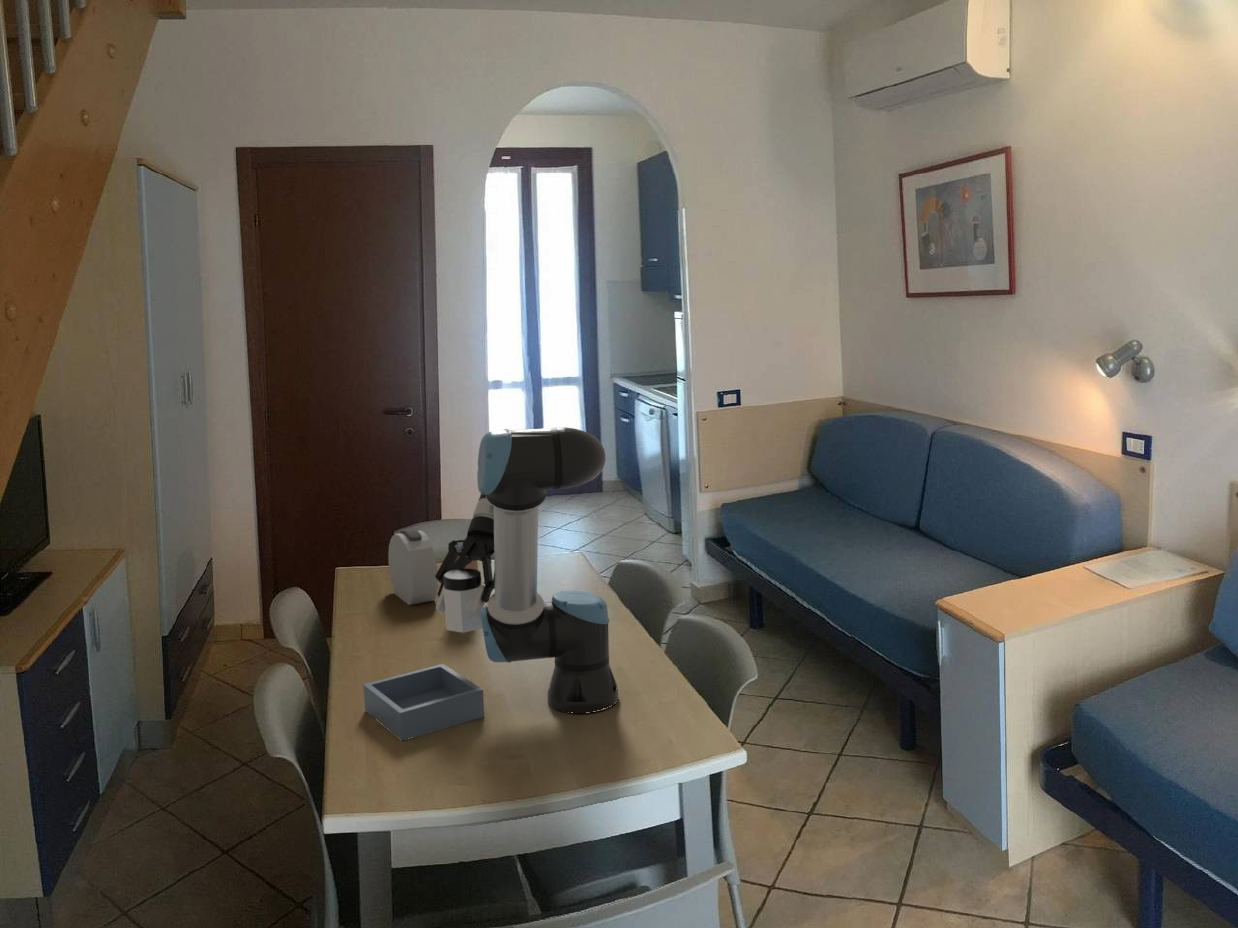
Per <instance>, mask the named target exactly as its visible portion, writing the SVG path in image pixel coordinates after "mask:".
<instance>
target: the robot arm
mask: <svg viewBox="0 0 1238 928" xmlns="http://www.w3.org/2000/svg"><path fill="white" fill-rule="evenodd" d="M477 456H478V457H477V475H476V477H477V488H478V492H479V493H480V495H479V497H478V500H477V503H476V506H475V509H474V511H473V514H472V518H471V519H470V520H471V521H470V523H469V526H468V529H467V534H466V537H465V539H463V540H464V541H463V542H456V541H457V540H452V541H450V542H451V546H450V550H449V551H448V552H447V554H446V555H445V557H444V559H443V561H442V562H441V565H440V567H439V568H438V569H437V571H438V572H437V574H436V575H435V578H436V579H437V580H438V583H440V586H439V587H438V588H439V589H438V590H437V596H438V600H437V603H436V605H435V610H436V611H437V612H438V613H439V614H440V615H445V605H444V578H443V575H444V574H445V573H446V572H448V571H451V570H456V569H464V568H465V567H466V565H467V564H470V563H471V562H472V560H473V561H475V560H477V561H479V562H481V565H482V573H483V580H484V581H483V584H482V585H481V586H480V590H479V592H478V595H477V598H476V601H475V604H474V607H473V610H472V613H473V614H474V615H475V616H476V617H477V618H480V616H481V622H482V628H481V629H482V633H483V639H484V644H485V650H486V655H487V657H488V659H489V661H491V662H493V663H512V662H520V661H521V662H522V661H523V662H524V661H530V660H531V661H532V660H540V659H541V660H542V659H552V658H554V668H553V671H552V675H551V678H550V682H549V687H547V688H548V689H547V703H548V705H549V706H550V707H551V708H552V709H554V710H556V709H557V710H556V711H558V710H560V711H559V712H561V711H564V712H563V713H565V712H569V713H568V714H572V713H571V712H573V713H586V712H593V711H597V710H601V709H603V708H607V707H609V706H611V705H613V704H614V703H615V702H616V701H617V699H618V700H619V687H618V685H617V681H616V679H615V677H614V673H613V671H612V668H611V664H610V643H609V642H610V639H609V623H610V618H609V611H608V604H607V602H606V600H605V599H603V598H602V597H600V596H599V595H597V594H594V593H591V592H586V591H582V590H581V591H579V590H564V591H563V590H561V591H560V592H559V591H558V592H555V593H554V594H553V595H552V597H551V601H547V602H546V601H544V599H543V597H542V595H541V594H539V593H538V555H539V554H538V553H539V552H538V544H539V540H538V539H539V507H540V506H541V505H543V504H544V502H546V499H547V496H548V495H547V494H548V493H547V491H549V490H550V491H551V490H553V491H554V490H562V489H563V490H564V489H570V488H574V487H579V486H582V485H584V484H587V483H589V482H590V481H593V480H594V479H596V478H597V477H598V476H599V475H600V474H601V473H602V471H603V470H604V467H605V464H606V463H605V462H606V452H605V448H604V446H603V444H602V443H601V441H600V440H599V439H598V438H597V437H596V436H595V435H593V434H591V433H589V432H587V431H584V430H581V429H579V428H573V427H566V426H565V427H563V426H562V427H561V426H559V427H558V426H557V427H546V428H545V427H544V428H529V429H528V428H525V429H508V428H504V429H503V430H494V431H489V432H486V433H485V434H484V435H483V437H481V441H480V443H479V450H478V454H477ZM462 548H464V550H463V551H462V552H461V549H462ZM459 552H461V554H460V557H459V558H458V559H457V557H458V555H459ZM466 555H467V556H468V558H467V557H466ZM492 555H494V557H493V559H494V563H493V562H492ZM456 559H457V561H456ZM455 561H456V562H455ZM492 563H493V565H494V570H493V568H492ZM492 570H493V571H492ZM493 590H494V593H493V594H492V592H493ZM491 594H492V595H491ZM485 603H487V605H486V606H485ZM617 702H618V701H617Z"/></svg>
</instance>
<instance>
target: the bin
mask: <svg viewBox="0 0 1238 928" xmlns="http://www.w3.org/2000/svg"><path fill="white" fill-rule="evenodd" d="M363 696H364V697H363V698H364V711H365V710H366V711H368V713H370V714H371V715H372V716H373V717H374V718H375V719H377V720H378V721H379V722H380V723H382V724H383V725H384V726H385V727H386V728H388V729H389V730H390V731H391V732H392V733H393V734H395V735H396V736H397V737H399V738H400V739H401V740H405V739H408V738H411V737H416V738H418V737H422V736H425V734H426V735H428V733H429V734H432V733H435V732H439V731H442V730H445V729H448V728H452V727H455V726H458V725H462V724H465V723H468V722H472V721H475V720H477V719H478V720H479V719H481V718H485V705H484V704H485V701H484V689H483V688H481V687H480V686H478V685H477V684H475V683H474V682H472V681H471V680H469V679H467V678H465V677H464V676H463V675H462V674H459V673H458V672H457V671H456V670H455V671H454V670H453V669H452V668H450V667H448V666H447V665H445V663H440V664H437V665H434V666H433V665H432V666H429V667H426V668H421V669H418V670H414V671H410V672H406V673H403V674H399V675H394V676H391V677H387V678H383V679H379V680H375V681H371V682H369V683H363ZM366 711H365V712H366ZM368 713H367V714H368ZM372 716H371V717H372ZM373 717H372V718H373ZM374 718H373V719H374ZM375 719H374V720H375ZM378 721H377V722H378ZM379 722H378V723H379ZM380 723H379V724H380ZM384 726H383V727H384ZM385 727H384V728H385ZM386 728H385V729H386ZM390 731H389V732H390ZM391 732H390V733H391ZM431 732H432V733H431ZM392 733H391V734H392ZM393 734H392V735H393ZM421 735H422V736H421ZM396 736H395V737H396ZM417 736H418V737H417ZM397 737H396V738H397Z"/></svg>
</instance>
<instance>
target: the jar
mask: <svg viewBox="0 0 1238 928" xmlns="http://www.w3.org/2000/svg"><path fill="white" fill-rule="evenodd" d="M443 578H444V605H445V612H444V617H445V618H444V619H445V629H446V631H450V632H456V633H463V634H464V633H469V632H473V631H476V630H481V629H483V628H482V622H481V616H480V618H477V617H476V616H475V615H474V614H473V613H472V610H473V607H474V604H475V601H476V598H477V595H478V592H479V590H480V586H481V585H483V582H482V573H481V571H480V570H479V569H478V570H476V569H456V570H451V571H448V572H446V573H445V574H444V575H443Z"/></svg>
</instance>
